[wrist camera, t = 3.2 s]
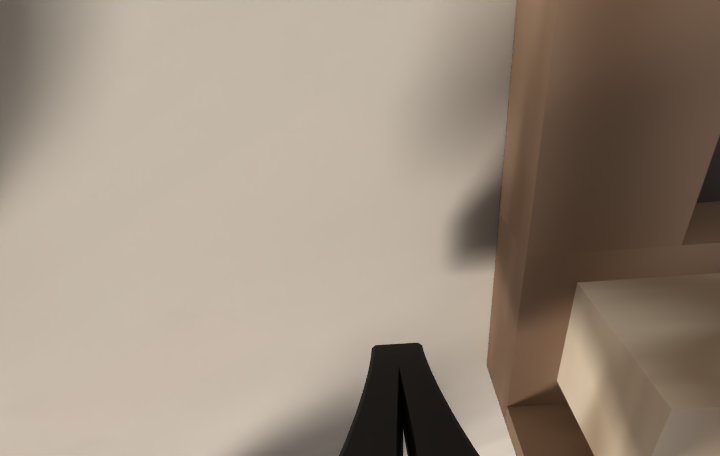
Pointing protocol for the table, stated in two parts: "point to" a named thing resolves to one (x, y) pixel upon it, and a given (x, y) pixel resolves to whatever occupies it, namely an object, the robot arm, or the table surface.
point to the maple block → (645, 365)
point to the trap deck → (598, 182)
